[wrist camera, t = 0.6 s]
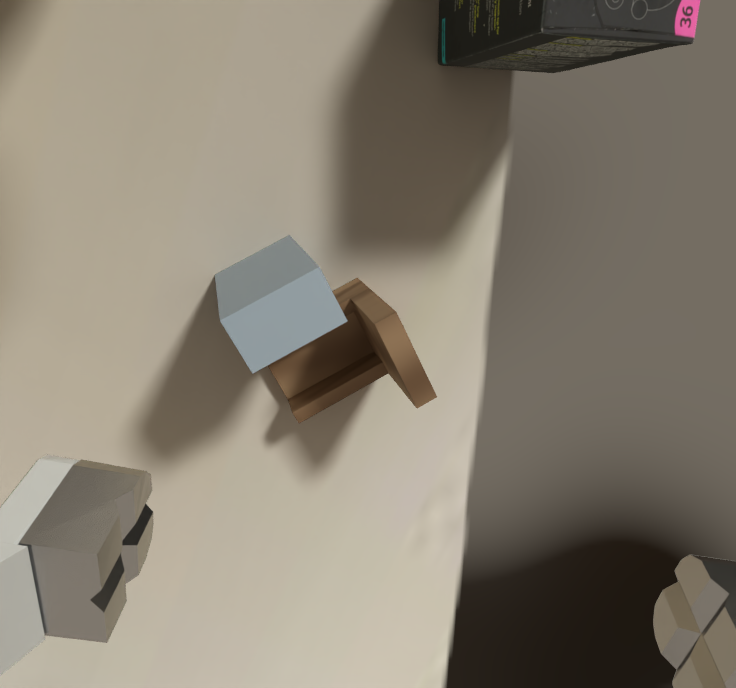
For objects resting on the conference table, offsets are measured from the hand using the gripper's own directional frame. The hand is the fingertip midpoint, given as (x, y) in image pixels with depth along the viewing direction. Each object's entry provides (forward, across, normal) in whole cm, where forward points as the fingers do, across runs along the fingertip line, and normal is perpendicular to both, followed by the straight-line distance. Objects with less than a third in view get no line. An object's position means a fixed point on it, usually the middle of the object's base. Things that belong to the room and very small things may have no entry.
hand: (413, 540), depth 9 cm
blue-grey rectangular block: (+34, +9, +12) cm, 37 cm away
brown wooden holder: (+34, +4, +17) cm, 38 cm away
